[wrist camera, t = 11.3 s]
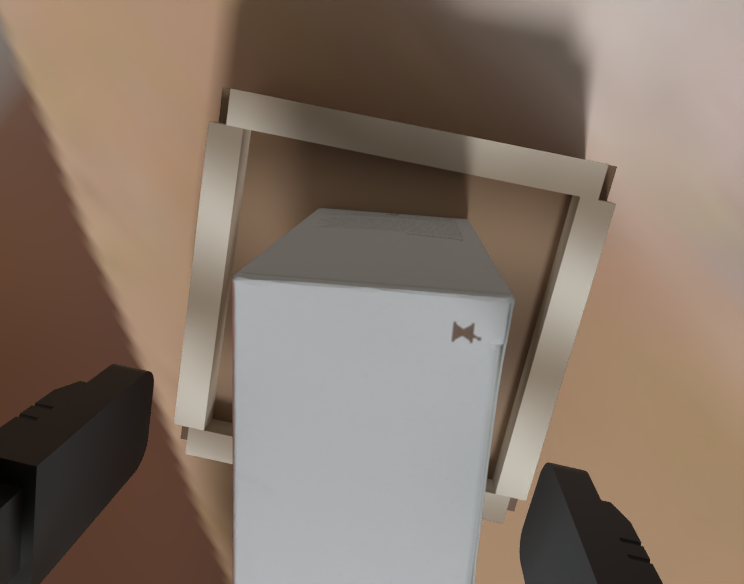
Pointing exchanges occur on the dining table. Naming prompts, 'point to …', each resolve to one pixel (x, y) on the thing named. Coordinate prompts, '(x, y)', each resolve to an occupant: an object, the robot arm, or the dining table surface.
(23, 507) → the robot arm
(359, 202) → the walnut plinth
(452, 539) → the small box
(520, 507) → the dining table surface
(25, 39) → the dining table surface
